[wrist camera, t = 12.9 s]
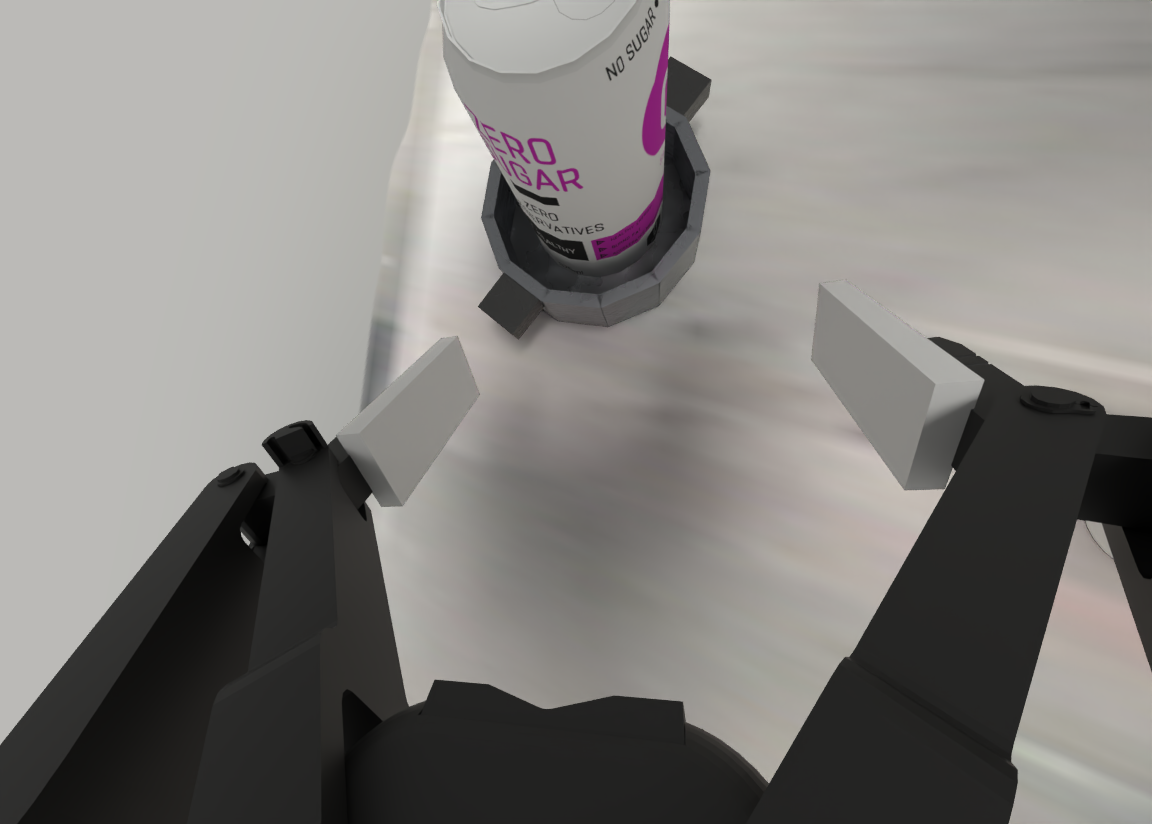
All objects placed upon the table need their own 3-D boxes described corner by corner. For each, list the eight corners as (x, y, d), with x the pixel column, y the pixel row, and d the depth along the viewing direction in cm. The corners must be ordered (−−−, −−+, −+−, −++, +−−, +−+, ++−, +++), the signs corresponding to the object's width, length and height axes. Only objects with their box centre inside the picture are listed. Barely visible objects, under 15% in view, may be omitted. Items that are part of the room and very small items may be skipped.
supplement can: (661, 156, 27) (671, -185, 12) (661, 277, 26) (672, 71, 12) (543, 170, 28) (425, -119, 14) (541, 285, 28) (415, 111, 13)
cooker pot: (609, 71, 29) (602, 14, 25) (769, 168, 26) (789, 121, 23) (449, 282, 30) (419, 258, 26) (587, 394, 28) (576, 386, 24)
